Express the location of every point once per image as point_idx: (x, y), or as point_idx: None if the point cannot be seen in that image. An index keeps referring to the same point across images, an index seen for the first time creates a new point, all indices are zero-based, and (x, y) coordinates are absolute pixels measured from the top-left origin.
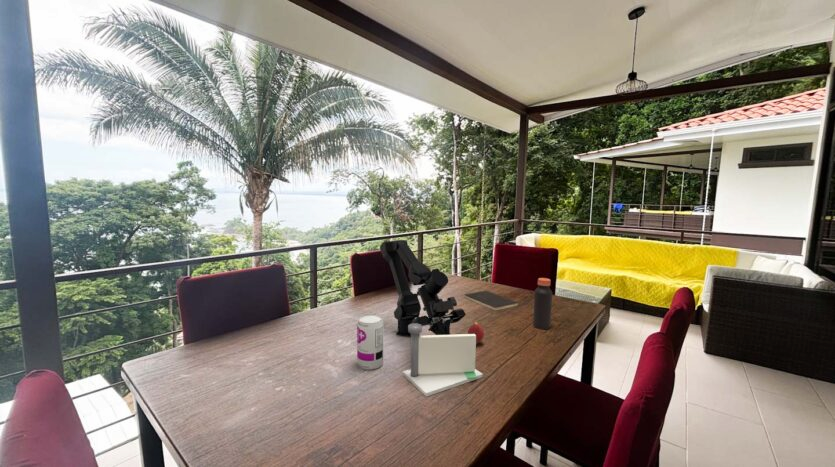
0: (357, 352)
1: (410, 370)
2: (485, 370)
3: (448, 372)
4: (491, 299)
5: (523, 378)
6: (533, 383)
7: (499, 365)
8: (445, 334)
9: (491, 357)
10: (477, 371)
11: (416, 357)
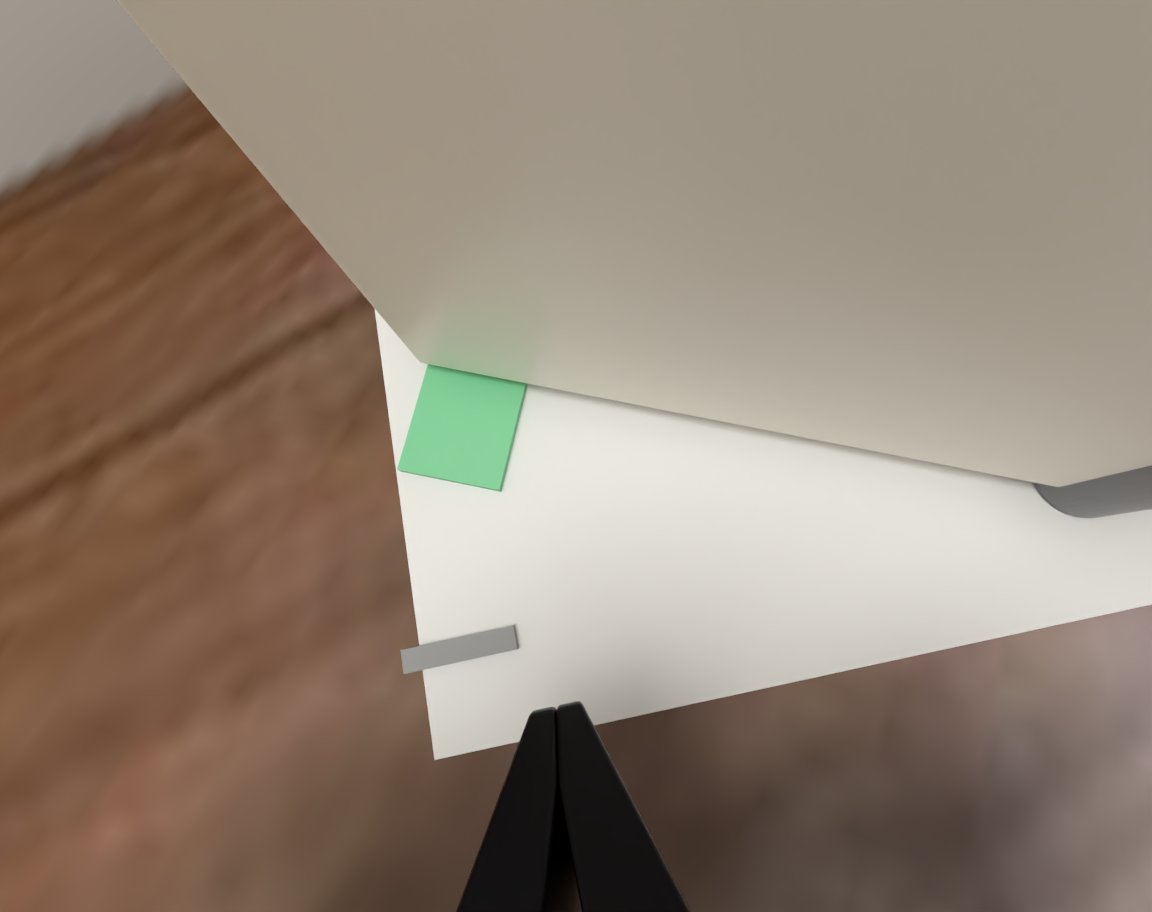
0: None
1: (1114, 586)
2: (292, 418)
3: (685, 421)
4: None
5: (92, 225)
6: (82, 153)
7: (110, 463)
8: (607, 902)
9: (60, 644)
10: (394, 360)
11: None
